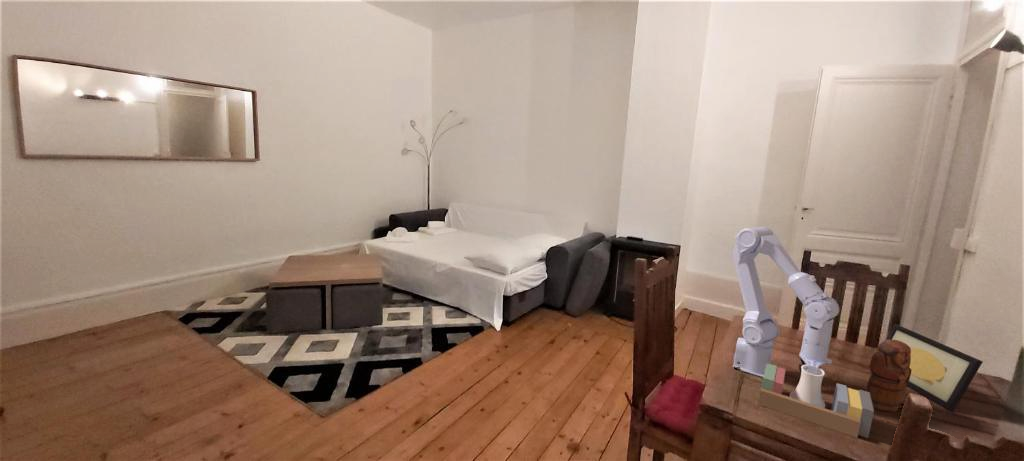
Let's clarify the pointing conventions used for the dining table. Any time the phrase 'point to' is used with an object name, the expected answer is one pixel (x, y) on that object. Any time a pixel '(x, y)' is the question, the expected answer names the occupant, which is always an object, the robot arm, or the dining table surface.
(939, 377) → the picture frame
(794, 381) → the dining table surface
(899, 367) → the wooden figurine
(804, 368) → the vase
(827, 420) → the book row
